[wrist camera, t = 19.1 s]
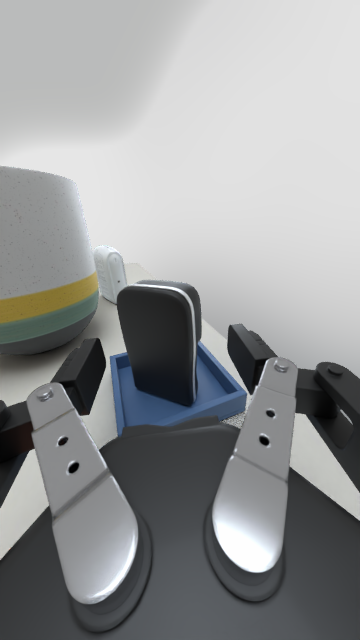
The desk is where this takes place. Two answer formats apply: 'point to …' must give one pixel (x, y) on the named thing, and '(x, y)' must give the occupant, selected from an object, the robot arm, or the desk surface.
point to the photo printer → (109, 271)
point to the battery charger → (162, 337)
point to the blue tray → (146, 408)
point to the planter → (43, 262)
